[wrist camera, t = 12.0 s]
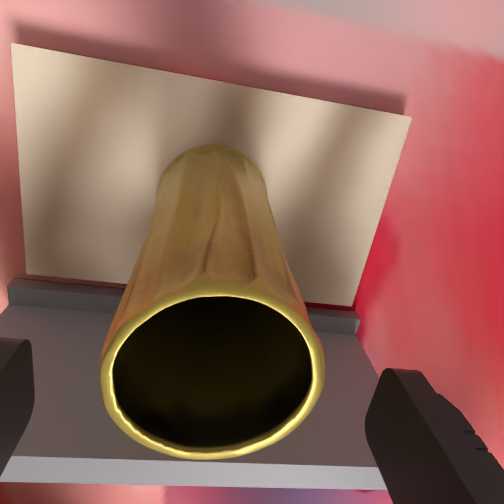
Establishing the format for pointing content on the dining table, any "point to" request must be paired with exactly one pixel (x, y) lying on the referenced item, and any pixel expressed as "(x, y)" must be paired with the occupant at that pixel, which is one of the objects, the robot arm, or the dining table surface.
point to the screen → (151, 461)
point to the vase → (211, 320)
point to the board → (174, 144)
